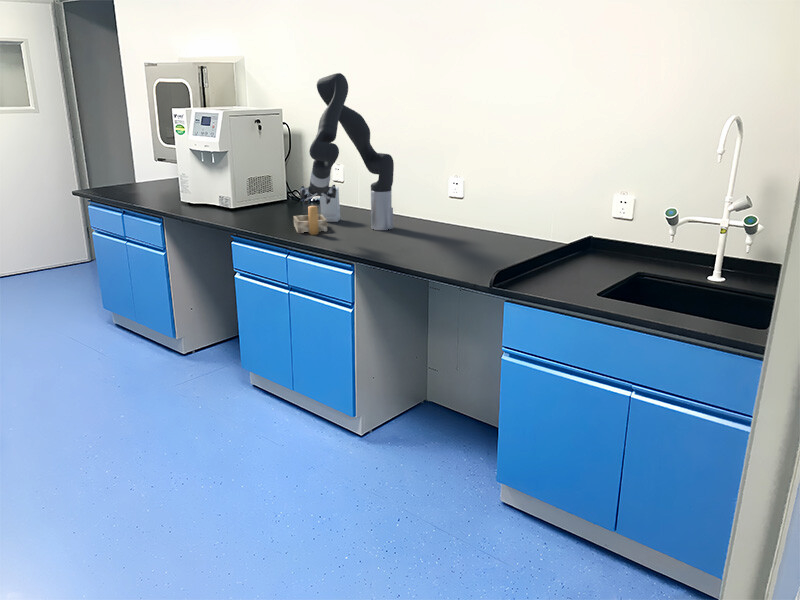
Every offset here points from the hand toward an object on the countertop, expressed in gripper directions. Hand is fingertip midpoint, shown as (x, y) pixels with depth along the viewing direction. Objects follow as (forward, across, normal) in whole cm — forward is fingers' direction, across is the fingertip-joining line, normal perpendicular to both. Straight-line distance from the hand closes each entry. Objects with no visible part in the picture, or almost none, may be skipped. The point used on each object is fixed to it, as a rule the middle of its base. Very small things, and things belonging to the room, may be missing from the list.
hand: (316, 202), depth 259 cm
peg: (+19, 0, +3) cm, 19 cm away
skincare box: (+37, -12, -14) cm, 41 cm away
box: (+26, 0, -4) cm, 26 cm away
